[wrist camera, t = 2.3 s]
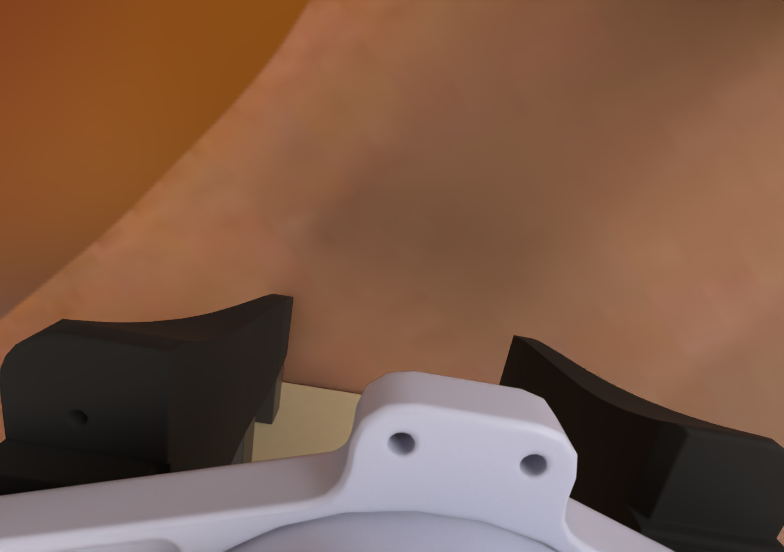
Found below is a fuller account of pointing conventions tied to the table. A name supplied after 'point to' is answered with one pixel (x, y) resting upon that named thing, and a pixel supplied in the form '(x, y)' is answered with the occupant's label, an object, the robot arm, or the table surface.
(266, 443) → the door
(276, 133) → the table surface
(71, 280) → the table surface
